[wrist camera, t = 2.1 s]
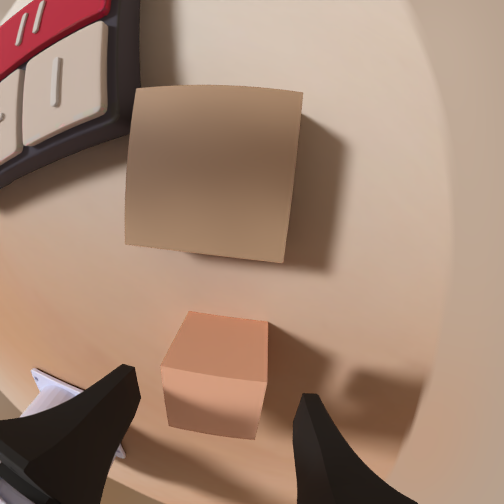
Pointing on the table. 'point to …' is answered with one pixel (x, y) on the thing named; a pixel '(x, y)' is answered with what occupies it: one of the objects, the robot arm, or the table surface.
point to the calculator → (65, 80)
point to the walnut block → (212, 169)
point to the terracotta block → (216, 375)
